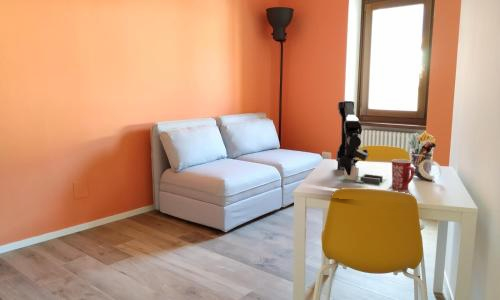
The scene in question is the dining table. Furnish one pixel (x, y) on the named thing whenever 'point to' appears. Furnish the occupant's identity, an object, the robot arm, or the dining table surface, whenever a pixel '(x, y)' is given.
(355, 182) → the board
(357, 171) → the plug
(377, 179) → the header
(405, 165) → the mug
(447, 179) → the dining table surface
